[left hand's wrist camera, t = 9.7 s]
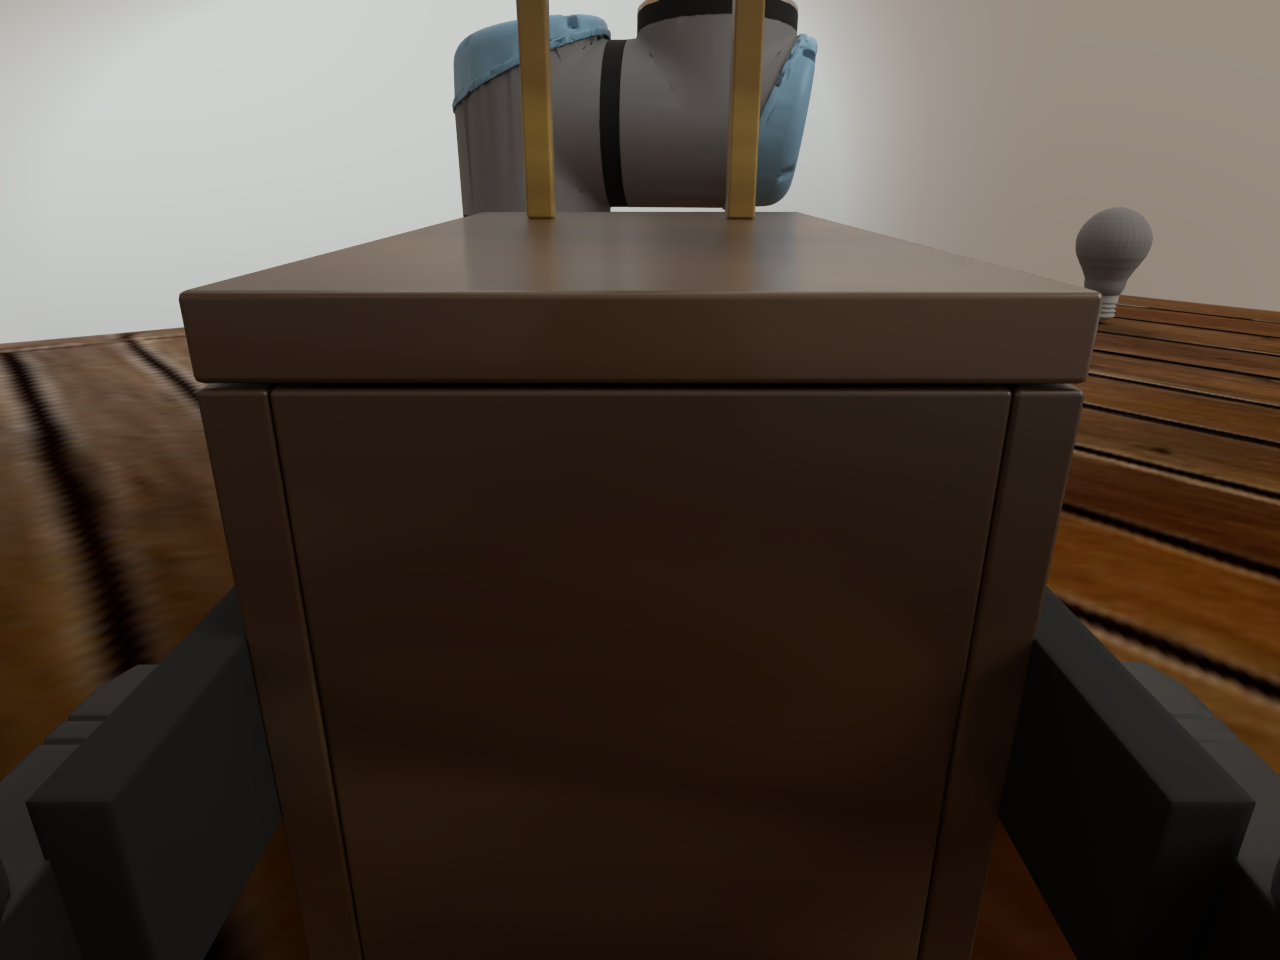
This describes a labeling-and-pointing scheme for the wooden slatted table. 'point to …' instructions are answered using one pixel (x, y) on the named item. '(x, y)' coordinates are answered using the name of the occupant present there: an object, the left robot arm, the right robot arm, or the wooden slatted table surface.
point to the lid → (641, 289)
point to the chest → (640, 657)
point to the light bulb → (1112, 252)
